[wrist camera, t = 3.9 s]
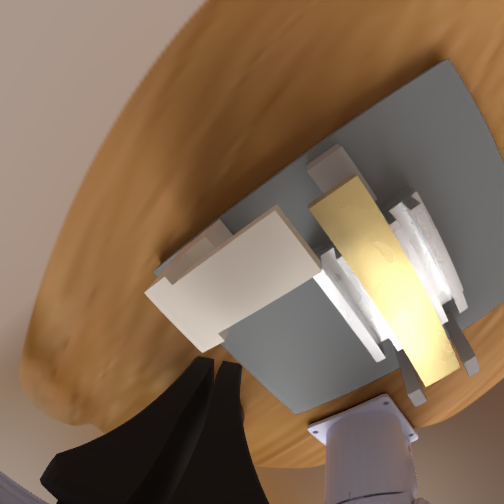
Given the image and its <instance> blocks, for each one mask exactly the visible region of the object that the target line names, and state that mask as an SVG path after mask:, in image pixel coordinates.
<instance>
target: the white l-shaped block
mask: <svg viewBox="0 0 504 504" xmlns="http://www.w3.org/2000/svg"><path fill="white" fill-rule="evenodd" d="M320 272H322V268H321V261H320V260H319V259H318V257H317V256H316V255H315V253H314V252H313V251H312V249H311V248H310V247H309V245H308V244H307V243H306V241H305V240H304V239H303V237H302V236H301V235H300V233H299V232H298V231H297V229H296V228H295V227H294V226H293V224H292V223H291V222H290V220H289V219H288V218H287V216H286V215H285V214H284V213H283V211H282V210H281V209H280V207H279V206H278V205H277V204H276V205H274V206H273V207H272V208H270V209H269V210H268V211H266V212H265V213H263V214H262V215H261V216H259V217H258V218H257V219H255V220H254V221H252V222H251V223H250V224H248V225H247V226H246V227H244V228H243V229H241V230H240V231H239V232H237V233H236V234H235V235H233V234H232V233H231V232H230V231H229V229H228V228H227V227H226V226H225V225H224V223H223V222H222V221H221V220H220V219H219V220H218V221H216V222H215V223H214V224H212V225H211V226H210V227H209V228H207V229H206V230H205V231H204V232H202V233H201V234H200V235H198V236H197V237H196V238H195V239H193V240H192V241H191V242H190V243H188V244H187V245H186V246H185V247H183V248H182V249H181V251H180V252H179V253H178V254H177V255H176V256H175V257H174V259H173V260H172V261H171V262H170V263H169V264H168V265H167V267H166V268H165V269H164V270H163V271H162V272H161V274H160V275H159V276H158V277H157V278H156V279H155V281H154V282H153V283H152V284H151V285H150V286H149V288H148V289H147V290H146V291H145V292H144V293H145V294H146V295H147V297H148V298H149V299H150V300H151V301H152V302H153V303H154V304H155V305H156V306H157V307H158V308H159V309H160V311H161V312H162V313H163V314H164V315H165V316H166V317H167V318H168V319H169V320H170V321H171V322H172V323H173V324H174V325H175V326H176V327H177V328H178V329H179V330H180V331H181V332H182V333H183V334H184V335H185V336H186V337H187V338H188V339H189V340H190V341H191V342H192V343H193V344H194V345H195V346H196V347H197V348H198V349H199V350H200V351H201V352H202V353H203V352H205V351H207V350H209V349H211V348H213V347H215V346H216V345H218V344H220V343H222V342H224V341H225V339H226V336H227V333H228V331H229V328H230V326H232V325H234V324H235V323H237V322H239V321H241V320H242V319H244V318H246V317H248V316H249V315H251V314H253V313H254V312H256V311H258V310H260V309H261V308H263V307H265V306H266V305H268V304H270V303H271V302H273V301H275V300H276V299H278V298H280V297H281V296H283V295H285V294H286V293H288V292H290V291H291V290H293V289H295V288H296V287H298V286H299V285H301V284H303V283H304V282H306V281H308V280H309V279H311V278H312V277H314V276H316V275H317V274H319V273H320Z"/></svg>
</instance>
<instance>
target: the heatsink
mask: <svg viewBox="0 0 504 504" xmlns="http://www.w3.org/2000/svg"><path fill="white" fill-rule="evenodd" d="M377 207H378V208H379V210H380V211H381V213H382V215H383V216H384V218H385V219H386V221H387V223H388V224H389V226H390V228H391V229H392V231H393V233H394V234H395V236H396V238H397V240H398V241H399V243H400V245H401V247H402V248H403V250H404V252H405V254H406V255H407V257H408V259H409V261H410V263H411V264H412V266H413V268H414V270H415V272H416V274H417V276H418V278H419V279H420V281H421V283H422V285H423V287H424V289H425V291H426V293H427V295H428V297H429V299H430V301H431V303H432V305H433V307H434V309H435V311H436V314H437V316H438V318H439V320H440V322H441V324H442V325H443V324H444V323H446V322H448V319H447V316H446V314H445V312H444V310H443V308H442V305H443V304H445V303H446V302H448V301H449V300H451V301H452V302H453V304H454V305H455V307H456V308H457V310H458V311H459V313H461V312H463V311H464V310H466V309H467V308H468V305H467V303H466V300H465V298H464V295H463V292H462V291H464V290H463V287H462V285H461V282H460V280H459V277H458V275H457V272H456V270H455V268H454V265H453V263H452V261H451V259H450V256H449V254H448V252H447V250H446V248H445V245H444V243H443V241H442V239H441V237H440V235H439V233H438V231H437V229H436V227H435V225H434V223H433V221H432V219H431V217H430V215H429V213H428V211H427V209H426V207H425V205H424V204H423V202H422V200H421V198H420V196H419V194H418V193H417V191H415V190H414V189H413V188H411V187H410V186H406V187H405V188H403V189H402V190H400V191H399V192H397V193H396V194H395V195H393V196H392V197H390V198H389V199H387V200H386V201H384V202H383V203H381V204H380V205H378V206H377ZM312 251H313V252H314V253H315V255H316V256H317V257H318V259H319V260H320V261H321V268H322V272H320V273H319V274H317V275H316V276H314V277H313V278H314V279H315V280H316V282H317V283H318V284H319V286H320V287H321V288H322V289H323V291H324V292H325V293H326V295H327V296H328V297H329V299H330V300H331V301H332V303H333V304H334V305H335V307H336V308H337V309H338V311H339V312H340V313H341V315H342V316H343V317H344V319H345V320H346V321H347V323H348V324H349V325H350V327H351V328H352V329H353V331H354V332H355V333H356V335H357V336H358V338H359V339H360V340H361V342H362V343H363V344H364V346H365V347H366V348H367V350H368V351H369V353H370V354H371V355H372V357H373V358H374V359H375V361H376V362H379V361H381V360H383V359H385V358H386V356H385V353H384V349H383V345H382V341H384V340H386V339H388V338H390V340H391V341H392V343H393V344H394V346H395V348H396V349H397V351H399V350H401V349H403V348H402V346H401V344H400V343H399V341H398V340H397V338H396V336H395V335H394V333H393V332H392V330H391V328H390V327H389V325H388V324H387V322H386V320H385V319H384V317H383V316H382V314H381V313H380V311H379V310H378V308H377V307H376V305H375V303H374V302H373V300H372V299H371V297H370V296H369V294H368V293H367V291H366V290H365V288H364V287H363V285H362V284H361V282H360V281H359V279H358V278H357V277H356V275H355V274H354V272H353V271H352V269H351V268H350V266H349V265H348V263H347V262H346V261H345V259H344V258H343V256H342V255H341V253H340V252H339V251H338V249H337V248H336V246H335V245H334V244H333V242H332V241H331V239H330V238H329V239H328V240H326V241H325V242H323V243H322V244H320V245H319V246H317V247H316V248H314V249H313V250H312Z"/></svg>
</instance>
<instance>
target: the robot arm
mask: <svg viewBox="0 0 504 504" xmlns="http://www.w3.org/2000/svg"><path fill="white" fill-rule="evenodd" d="M241 372H242V366H241V365H240V364H238V363H232V362H227V361H223V362H222V364H221V366H220V368H219V371H218V373H217V376H216V380H215V384H214V359H210V358H205V357H200V356H198V357H196V358H195V359H194V360H193V362H192V363H191V364H190V365H189V366H188V368H187V369H186V370H185V371H184V372H183V373H182V374H181V375H180V376H179V377H178V379H177V380H176V381H175V382H174V383H173V384H172V385H171V386H170V387H169V388H168V389H167V390H166V391H164V392H163V393H162V394H161V395H160V396H159V397H158V398H157V399H156V400H154V401H153V402H152V403H151V404H150V405H149V406H147V407H146V408H145V409H144V410H142V411H141V412H140V413H138V414H137V415H136V416H134V417H133V418H131V419H130V420H128V421H127V422H125V423H124V424H122V425H120V426H119V427H117V428H116V429H114V430H112V431H110V432H109V433H107V434H105V435H103V436H101V437H99V438H97V439H95V440H92V441H91V442H88V443H86V444H84V445H81V446H79V447H76V448H73V449H70V450H67V451H64V452H61V453H58V454H56V456H55V457H54V458H53V459H52V461H51V462H50V463H49V465H48V467H47V468H46V470H45V471H44V473H43V475H42V477H41V478H40V482H41V484H42V485H43V486H44V487H45V488H46V489H47V490H48V491H49V492H50V493H51V494H52V495H53V496H54V497H55V498H56V499H57V500H58V502H57V503H56V504H269V502H268V500H267V498H266V496H265V494H264V491H263V489H262V487H261V484H260V482H259V479H258V476H257V474H256V471H255V468H254V465H253V462H252V459H251V456H250V452H249V449H248V445H247V441H246V437H245V432H244V427H243V422H242V415H241V407H240V384H241ZM308 431H309V432H310V433H311V434H312V435H314V436H315V437H316V438H317V439H318V440H320V441H321V442H322V443H323V444H325V445H326V477H325V478H326V479H325V504H431V503H430V502H429V501H427V500H424V498H418V499H415V497H416V493H417V488H418V486H417V479H416V472H415V466H414V461H413V455H412V450H411V445H410V443H411V442H413V441H415V440H417V439H418V434H417V433H416V431H415V430H414V429H413V427H412V426H411V424H410V423H409V422H408V420H407V419H406V418H405V416H404V415H403V414H402V412H401V411H400V410H399V408H398V407H397V406H396V404H395V403H394V402H393V400H392V399H391V398H390V396H389V395H388V394H382V395H379V396H377V397H375V398H373V399H371V400H369V401H366V402H364V403H362V404H360V405H357V406H355V407H353V408H350V409H348V410H346V411H343V412H341V413H338V414H336V415H333V416H331V417H328V418H326V419H323V420H321V421H318V422H315V423H313V424H310V425H308ZM0 504H48V503H47V502H45V501H43V500H42V499H40V498H39V497H37V496H35V495H33V494H32V493H31V492H29V491H28V490H26V489H25V488H23V487H22V486H20V485H19V484H17V483H16V482H15V481H13V480H12V479H10V478H9V477H8V476H6V475H5V474H4V473H2V472H1V471H0Z"/></svg>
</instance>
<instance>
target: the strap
mask: <svg viewBox="0 0 504 504" xmlns="http://www.w3.org/2000/svg"><path fill="white" fill-rule="evenodd" d="M308 209H309V211H310V212H311V213H312V215H313V216H314V217H315V219H316V220H317V221H318V223H319V224H320V225H321V227H322V228H323V230H324V231H325V232H326V234H327V235H328V237H329V238H330V239H331V241H332V242H333V244H334V245H335V246H336V248H337V249H338V251H339V252H340V253H341V255H342V256H343V258H344V259H345V261H346V262H347V263H348V265H349V266H350V268H351V269H352V271H353V272H354V274H355V275H356V277H357V278H358V279H359V281H360V282H361V284H362V285H363V287H364V288H365V290H366V291H367V293H368V294H369V296H370V297H371V299H372V300H373V302H374V303H375V305H376V307H377V308H378V310H379V311H380V313H381V314H382V316H383V317H384V319H385V320H386V322H387V324H388V325H389V327H390V328H391V330H392V332H393V333H394V335H395V336H396V338H397V340H398V341H399V343H400V344H401V346H402V348H403V349H404V351H405V353H406V354H407V356H408V358H409V359H410V361H411V363H412V364H413V366H414V368H415V369H416V371H417V373H418V374H419V376H420V378H421V379H422V381H423V383H424V385H425V386H426V387H427V386H429V385H431V384H433V383H435V382H436V381H438V380H440V379H442V378H443V377H445V376H447V375H448V374H450V373H452V372H453V371H455V370H457V369H458V368H460V366H459V364H458V361H457V359H456V356H455V354H454V351H453V349H452V347H451V344H450V342H449V340H448V338H447V335H446V333H445V331H444V329H443V326H442V324H441V322H440V320H439V318H438V316H437V314H436V311H435V309H434V307H433V305H432V303H431V301H430V299H429V297H428V295H427V293H426V291H425V289H424V287H423V285H422V283H421V281H420V279H419V278H418V276H417V274H416V272H415V270H414V268H413V266H412V264H411V263H410V261H409V259H408V257H407V255H406V254H405V252H404V250H403V248H402V247H401V245H400V243H399V241H398V240H397V238H396V236H395V234H394V233H393V231H392V229H391V228H390V226H389V224H388V223H387V221H386V219H385V218H384V216H383V215H382V213H381V211H380V210H379V208H378V207H377V205H376V203H375V202H374V200H373V199H372V197H371V196H370V194H369V193H368V191H367V190H366V188H365V186H364V185H363V183H362V182H361V180H360V179H359V178H358V176H357V175H356V174H355V173H352V174H351V175H349V176H348V177H346V178H345V179H344V180H342V181H341V182H339V183H338V184H336V185H335V186H333V187H332V188H331V189H329V190H328V191H326V192H325V193H323V194H322V195H321V196H319V197H318V198H316V199H315V200H313V201H312V202H311V203H309V204H308Z"/></svg>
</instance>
